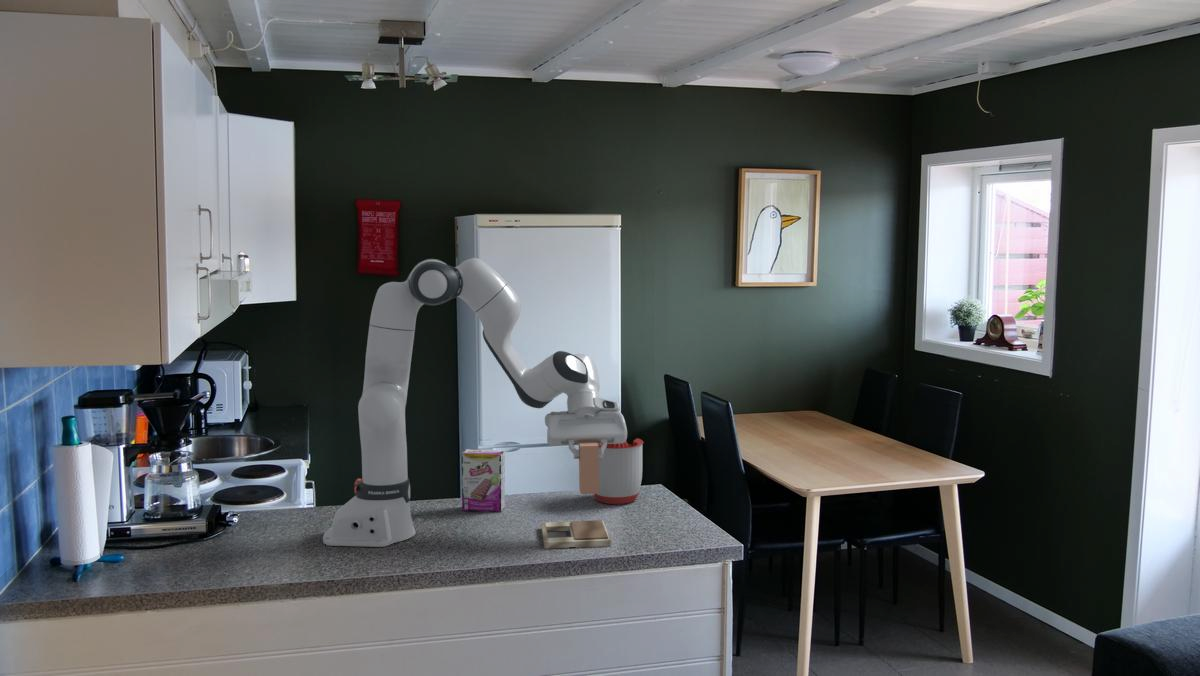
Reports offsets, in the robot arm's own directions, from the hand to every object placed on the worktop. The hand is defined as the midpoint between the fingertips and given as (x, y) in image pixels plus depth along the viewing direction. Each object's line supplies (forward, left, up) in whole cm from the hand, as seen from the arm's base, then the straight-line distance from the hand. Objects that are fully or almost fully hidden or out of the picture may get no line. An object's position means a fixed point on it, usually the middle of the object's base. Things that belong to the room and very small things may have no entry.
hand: (588, 457), depth 230 cm
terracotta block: (0, +1, -9) cm, 9 cm away
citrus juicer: (+11, +34, -21) cm, 41 cm away
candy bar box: (-27, +28, -21) cm, 43 cm away
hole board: (-4, +1, -20) cm, 21 cm away
